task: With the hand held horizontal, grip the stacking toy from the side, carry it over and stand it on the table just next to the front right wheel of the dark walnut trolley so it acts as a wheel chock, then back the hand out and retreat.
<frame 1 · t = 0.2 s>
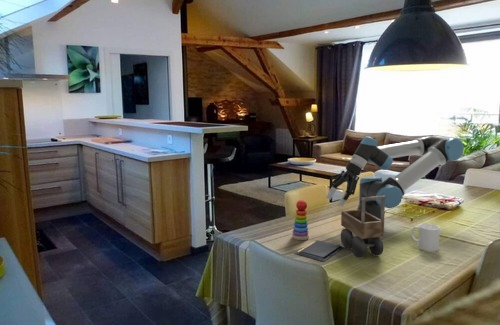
hand: (333, 201, 196), 15 cm above the table, tool tilted 35°, fingers open, 13 cm apart
cup: (423, 247, 176), on the table
trolley: (360, 251, 173), on the table
dark navy book: (319, 252, 175), on the table
stacking toy: (300, 238, 190), on the table
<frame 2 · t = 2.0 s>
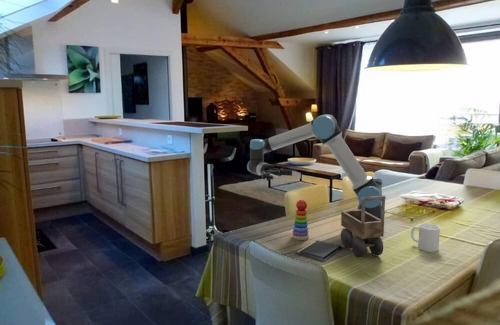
hand: (289, 177, 194), 28 cm above the table, tool horizontal, fingers open, 13 cm apart
nothing on the table moved.
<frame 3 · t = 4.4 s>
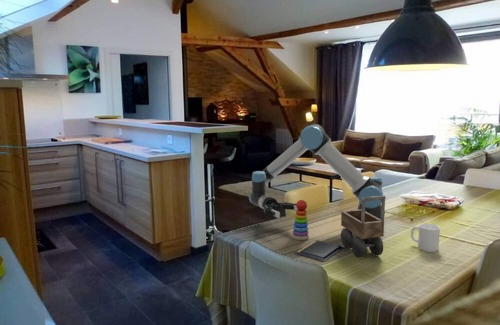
hand: (290, 213, 195), 10 cm above the table, tool horizontal, fingers open, 13 cm apart
nothing on the table moved.
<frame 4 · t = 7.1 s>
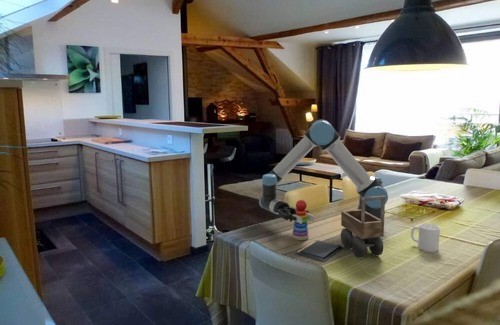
hand: (307, 219, 184), 11 cm above the table, tool horizontal, fingers closed on stacking toy, 6 cm apart
stacking toy: (300, 238, 190), on the table, touching gripper
everything else where it was.
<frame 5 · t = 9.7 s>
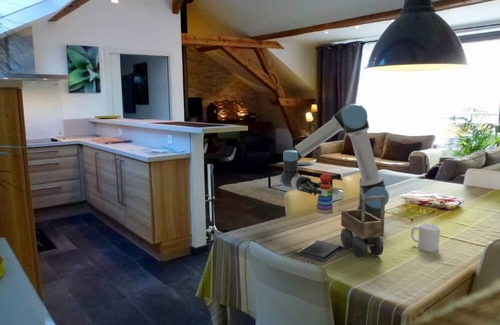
hand: (332, 192, 179), 24 cm above the table, tool horizontal, fingers closed on stacking toy, 6 cm apart
stacking toy: (324, 212, 185), point 13 cm above the table, touching gripper
everything else where it was.
when the fingers open (11 cm above the table, at t = 12.8 s): stacking toy drops 1 cm, on the table.
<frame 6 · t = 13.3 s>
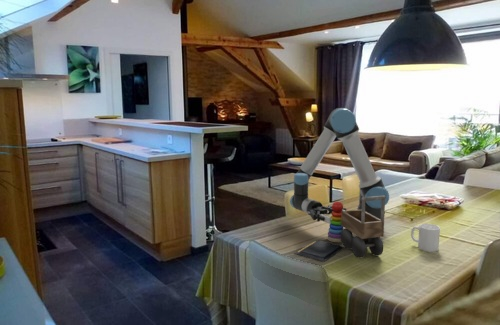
hand: (341, 218, 182), 11 cm above the table, tool horizontal, fingers open, 13 cm apart
stacking toy: (335, 240, 187), on the table
everything else where it was.
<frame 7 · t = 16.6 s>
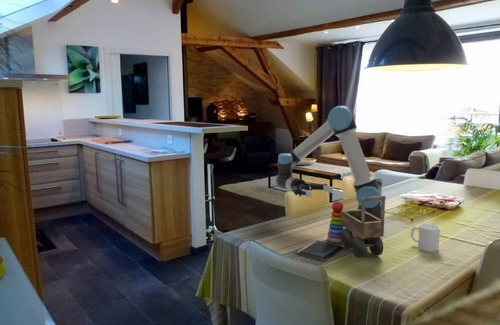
hand: (321, 192, 192), 21 cm above the table, tool horizontal, fingers open, 13 cm apart
nothing on the table moved.
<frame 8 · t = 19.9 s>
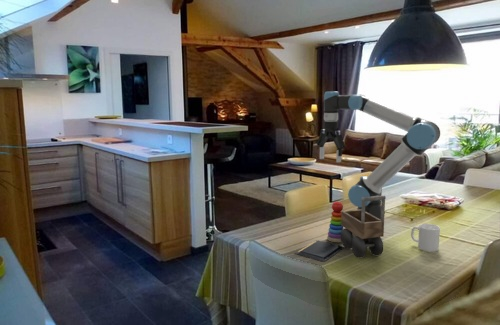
hand: (330, 160, 213), 33 cm above the table, tool pointing down, fingers open, 13 cm apart
nothing on the table moved.
at the end: stacking toy 0.3 cm from the target spot on the table beside the trolley, on the table; stacking toy tilted 0°; the gripper is holding nothing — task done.
